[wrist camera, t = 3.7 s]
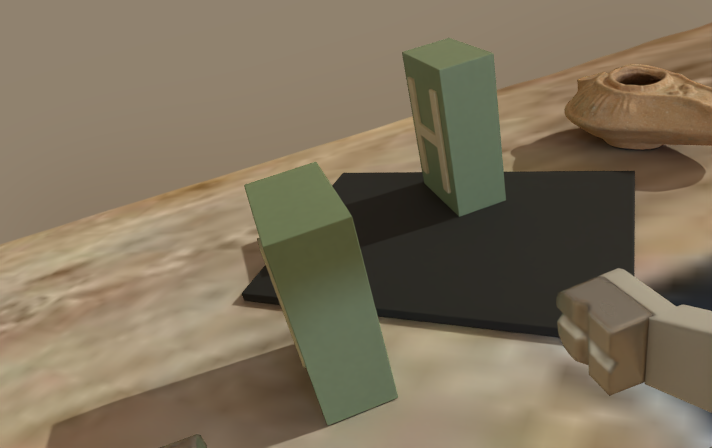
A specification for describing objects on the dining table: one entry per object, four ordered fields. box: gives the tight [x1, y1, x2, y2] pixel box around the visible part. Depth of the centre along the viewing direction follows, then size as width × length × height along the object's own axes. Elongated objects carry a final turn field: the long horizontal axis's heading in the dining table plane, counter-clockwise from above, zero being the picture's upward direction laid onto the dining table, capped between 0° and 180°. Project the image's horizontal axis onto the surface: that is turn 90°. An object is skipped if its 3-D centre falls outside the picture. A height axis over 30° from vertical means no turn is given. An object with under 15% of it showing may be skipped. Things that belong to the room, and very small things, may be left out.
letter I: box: [244, 162, 398, 425], centre depth 25 cm, size 4×6×10 cm, turn 17°
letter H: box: [402, 38, 506, 217], centre depth 37 cm, size 4×6×10 cm, turn 17°
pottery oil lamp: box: [565, 64, 712, 149], centre depth 39 cm, size 9×12×7 cm
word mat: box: [242, 171, 635, 337], centre depth 36 cm, size 22×16×1 cm
